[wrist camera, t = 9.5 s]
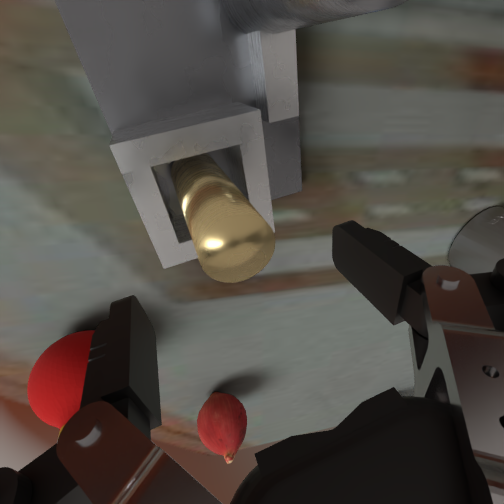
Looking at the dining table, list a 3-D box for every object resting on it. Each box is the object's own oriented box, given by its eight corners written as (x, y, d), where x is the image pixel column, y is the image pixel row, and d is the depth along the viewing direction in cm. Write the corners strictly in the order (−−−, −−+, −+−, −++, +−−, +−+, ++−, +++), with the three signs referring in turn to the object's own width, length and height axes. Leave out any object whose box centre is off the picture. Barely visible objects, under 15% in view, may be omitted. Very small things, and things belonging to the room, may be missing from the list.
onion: (237, 373, 35) (259, 439, 29) (236, 398, 38) (256, 463, 32) (190, 386, 34) (204, 460, 27) (194, 411, 37) (206, 483, 30)
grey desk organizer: (297, 188, 24) (393, 260, 15) (155, 231, 21) (171, 345, 13) (283, -72, 15) (501, -270, 6) (38, -47, 13) (-179, -303, 4)
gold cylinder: (212, 145, 18) (270, 203, 11) (222, 189, 20) (278, 267, 12) (164, 157, 18) (188, 229, 10) (179, 202, 20) (209, 292, 12)
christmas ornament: (141, 354, 28) (143, 466, 20) (61, 377, 26) (31, 510, 18) (120, 303, 24) (113, 419, 16) (24, 326, 22) (-35, 469, 14)
